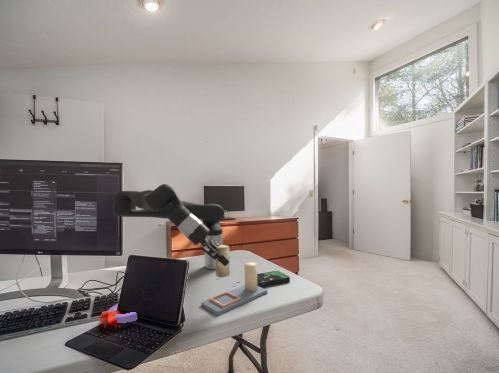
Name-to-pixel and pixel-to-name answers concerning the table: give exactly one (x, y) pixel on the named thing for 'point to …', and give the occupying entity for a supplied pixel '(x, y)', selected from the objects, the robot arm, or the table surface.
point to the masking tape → (124, 316)
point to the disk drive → (271, 279)
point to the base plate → (236, 293)
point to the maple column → (220, 268)
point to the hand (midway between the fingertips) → (227, 261)
